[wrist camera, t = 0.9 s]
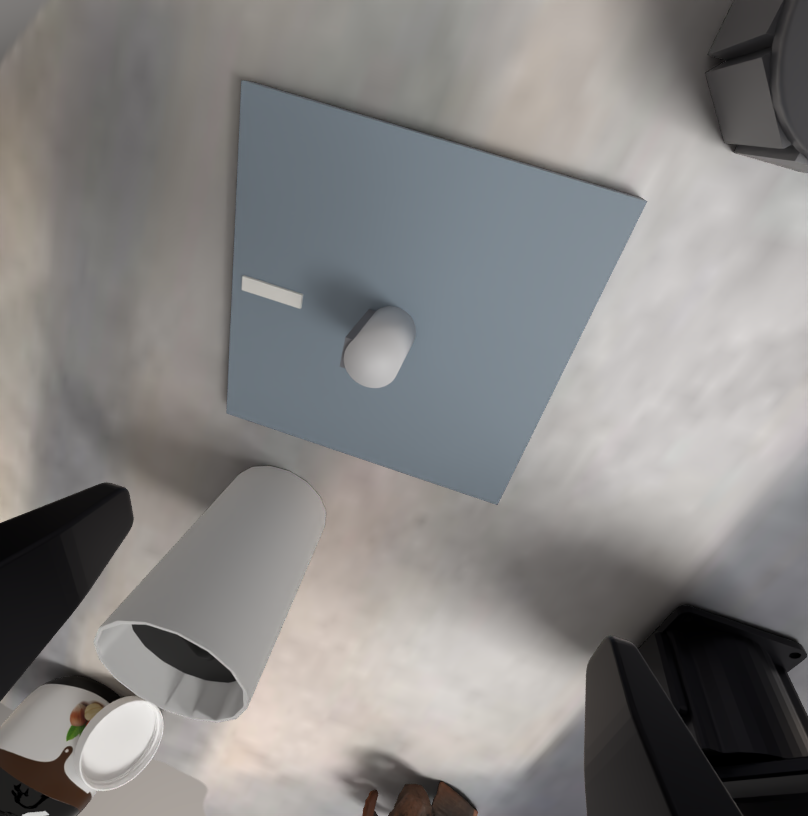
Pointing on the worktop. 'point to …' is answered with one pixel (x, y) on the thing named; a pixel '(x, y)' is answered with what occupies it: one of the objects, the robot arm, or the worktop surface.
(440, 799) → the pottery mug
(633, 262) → the worktop surface
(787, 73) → the knob
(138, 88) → the worktop surface
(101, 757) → the spread jar
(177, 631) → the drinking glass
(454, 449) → the base plate
